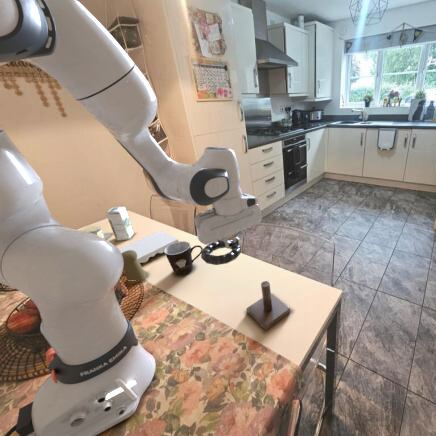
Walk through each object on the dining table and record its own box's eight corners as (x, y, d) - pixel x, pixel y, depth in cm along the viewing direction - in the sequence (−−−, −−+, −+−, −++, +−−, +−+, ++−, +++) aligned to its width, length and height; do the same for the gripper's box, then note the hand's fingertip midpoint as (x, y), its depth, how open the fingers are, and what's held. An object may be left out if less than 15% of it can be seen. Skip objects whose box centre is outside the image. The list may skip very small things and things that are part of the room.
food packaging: (131, 271, 92) (179, 245, 106) (127, 263, 90) (177, 239, 104) (115, 258, 100) (162, 236, 114) (112, 251, 99) (160, 230, 113)
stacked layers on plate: (112, 233, 119) (108, 223, 116) (100, 243, 111) (96, 232, 108) (91, 235, 118) (86, 225, 116) (78, 245, 110) (72, 234, 108)
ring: (213, 271, 67) (211, 264, 66) (195, 255, 75) (194, 248, 74) (248, 254, 74) (247, 247, 73) (229, 241, 82) (228, 234, 81)
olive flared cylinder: (137, 284, 84) (127, 258, 79) (123, 282, 85) (111, 257, 81) (150, 273, 90) (140, 248, 85) (136, 272, 91) (126, 247, 86)
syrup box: (121, 235, 117) (110, 207, 111) (135, 233, 118) (124, 206, 112) (116, 241, 112) (104, 212, 106) (130, 239, 113) (119, 211, 107)
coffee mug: (167, 278, 86) (159, 255, 82) (176, 264, 94) (170, 241, 90) (200, 276, 87) (194, 253, 82) (206, 262, 94) (201, 240, 90)
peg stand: (265, 330, 65) (262, 301, 61) (247, 312, 71) (242, 284, 67) (290, 311, 71) (288, 283, 66) (271, 296, 77) (268, 269, 72)
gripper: (197, 218, 62) (207, 262, 68) (262, 197, 74) (265, 236, 80) (188, 211, 66) (198, 254, 72) (250, 192, 79) (254, 230, 85)
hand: (234, 244), depth 76 cm, fingers closed on ring, 2 cm apart
